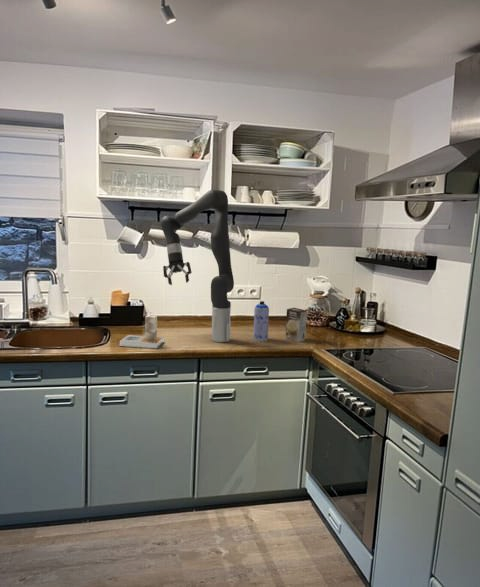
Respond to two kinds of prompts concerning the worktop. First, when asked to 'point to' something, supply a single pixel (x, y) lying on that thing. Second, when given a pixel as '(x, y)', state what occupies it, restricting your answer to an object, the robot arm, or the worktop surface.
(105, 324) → the worktop surface
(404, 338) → the worktop surface
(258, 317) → the aerosol can
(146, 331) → the peg
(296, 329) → the coffee box
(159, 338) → the grey flat block
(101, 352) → the worktop surface
